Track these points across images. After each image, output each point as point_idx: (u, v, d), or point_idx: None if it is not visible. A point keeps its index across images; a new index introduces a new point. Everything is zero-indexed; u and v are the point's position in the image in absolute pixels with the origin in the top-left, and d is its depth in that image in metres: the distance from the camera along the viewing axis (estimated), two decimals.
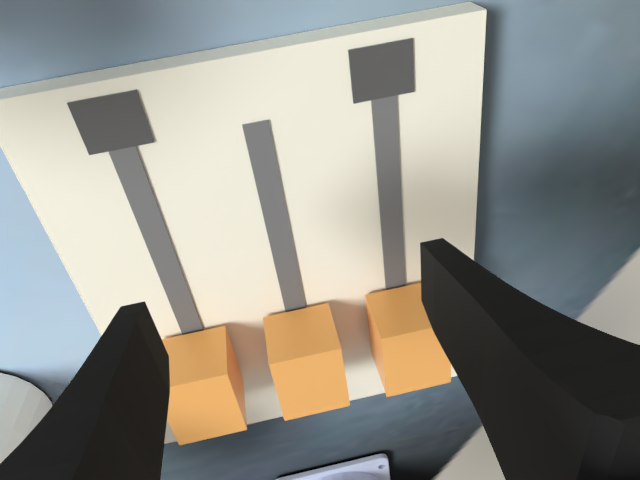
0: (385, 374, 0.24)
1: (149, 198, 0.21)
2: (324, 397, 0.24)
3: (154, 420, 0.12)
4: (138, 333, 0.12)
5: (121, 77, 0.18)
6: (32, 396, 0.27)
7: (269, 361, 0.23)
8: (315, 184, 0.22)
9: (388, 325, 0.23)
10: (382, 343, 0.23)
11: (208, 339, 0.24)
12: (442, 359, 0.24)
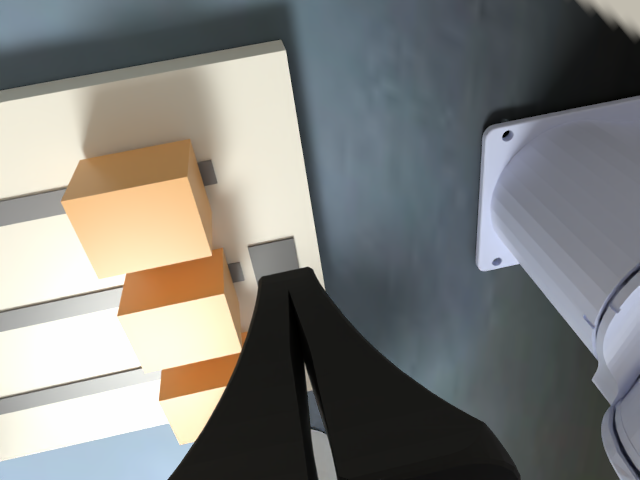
0: (166, 264, 0.18)
1: (20, 398, 0.25)
2: (204, 320, 0.20)
3: (304, 386, 0.12)
4: (290, 301, 0.12)
5: None
6: None
7: None
8: None
9: None
10: (106, 277, 0.18)
11: None
12: (136, 199, 0.17)
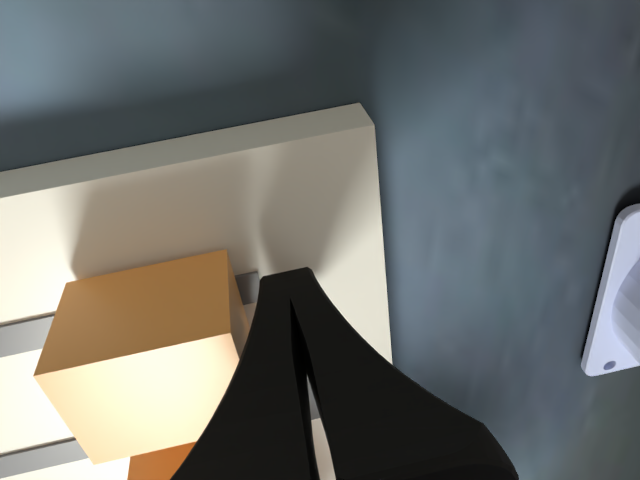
0: (193, 440, 0.12)
1: None
2: None
3: (305, 386, 0.12)
4: None
5: None
6: None
7: None
8: None
9: None
10: (104, 462, 0.12)
11: None
12: (150, 365, 0.11)
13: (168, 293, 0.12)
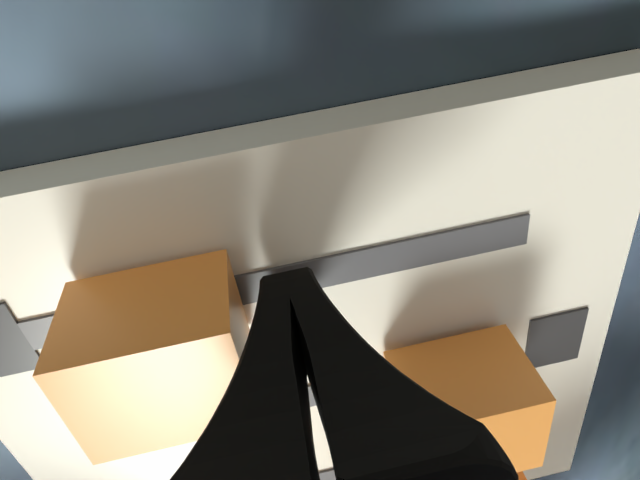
0: (193, 440, 0.12)
1: None
2: (516, 433, 0.15)
3: (305, 386, 0.12)
4: (291, 300, 0.12)
5: None
6: None
7: None
8: None
9: None
10: (103, 462, 0.12)
11: None
12: (150, 365, 0.11)
13: (168, 293, 0.12)
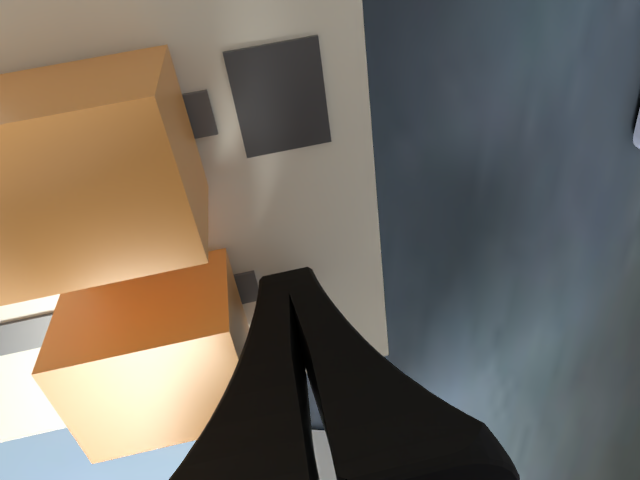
0: None
1: None
2: (111, 174, 0.08)
3: (304, 386, 0.12)
4: (291, 300, 0.12)
5: None
6: None
7: None
8: None
9: None
10: None
11: None
12: None
13: None
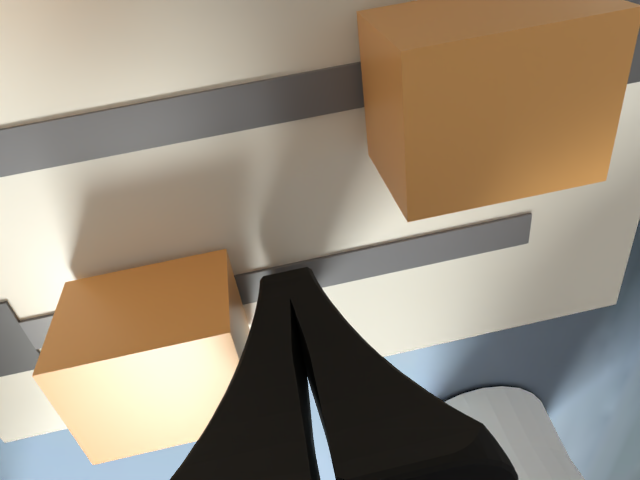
0: None
1: None
2: (571, 85, 0.09)
3: (305, 386, 0.12)
4: None
5: None
6: None
7: (404, 215, 0.10)
8: (33, 49, 0.10)
9: None
10: None
11: None
12: None
13: None
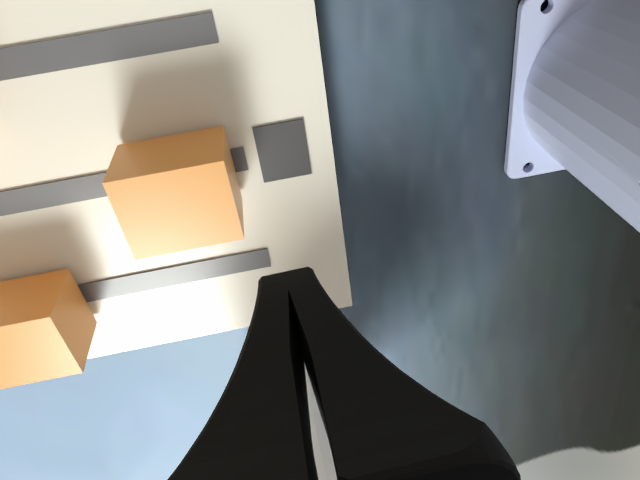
0: None
1: None
2: (201, 195, 0.18)
3: (303, 386, 0.12)
4: (290, 301, 0.12)
5: None
6: None
7: None
8: None
9: None
10: None
11: None
12: None
13: None
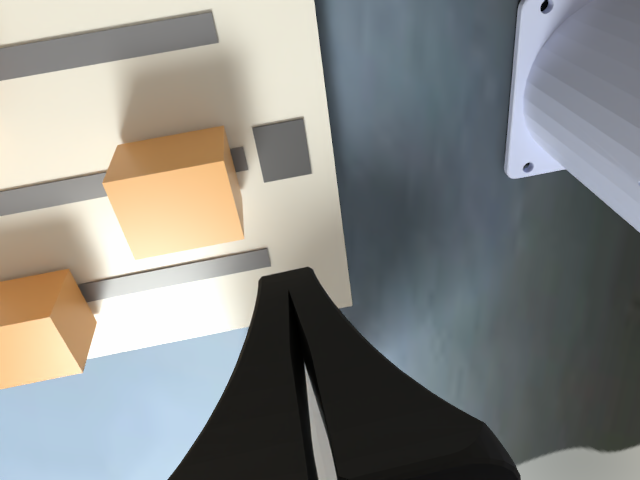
0: None
1: None
2: (201, 195, 0.18)
3: (303, 386, 0.12)
4: (290, 301, 0.12)
5: None
6: None
7: None
8: None
9: None
10: None
11: None
12: None
13: None
